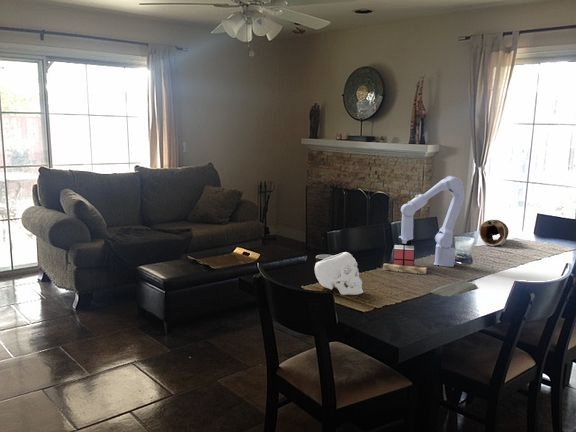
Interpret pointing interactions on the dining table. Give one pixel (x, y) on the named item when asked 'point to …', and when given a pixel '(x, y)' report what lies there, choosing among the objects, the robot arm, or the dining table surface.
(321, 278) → the skull planter
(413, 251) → the puzzle cube
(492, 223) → the clay pot
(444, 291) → the stone slab
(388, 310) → the dining table surface
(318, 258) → the coffee mug
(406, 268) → the board
